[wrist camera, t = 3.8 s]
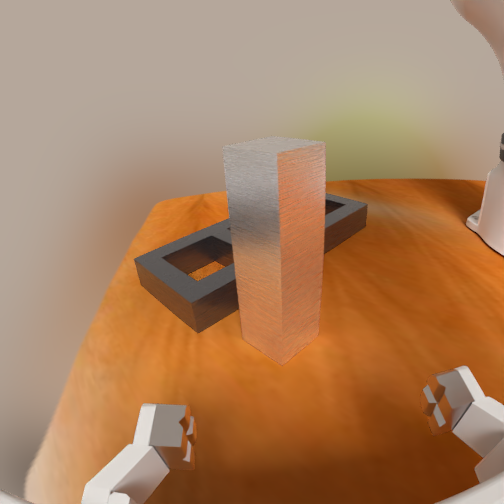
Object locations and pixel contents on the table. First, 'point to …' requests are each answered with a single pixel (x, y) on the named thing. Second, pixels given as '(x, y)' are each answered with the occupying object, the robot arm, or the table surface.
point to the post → (277, 240)
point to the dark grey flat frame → (220, 250)
